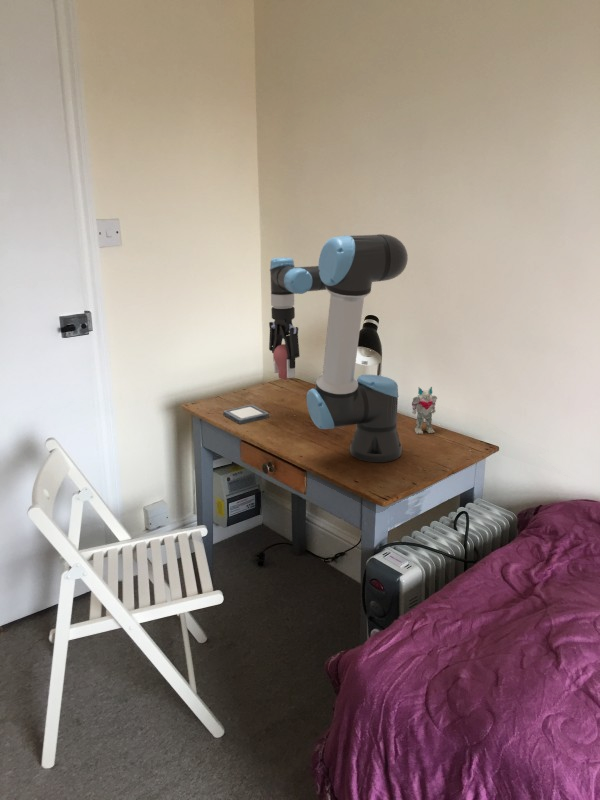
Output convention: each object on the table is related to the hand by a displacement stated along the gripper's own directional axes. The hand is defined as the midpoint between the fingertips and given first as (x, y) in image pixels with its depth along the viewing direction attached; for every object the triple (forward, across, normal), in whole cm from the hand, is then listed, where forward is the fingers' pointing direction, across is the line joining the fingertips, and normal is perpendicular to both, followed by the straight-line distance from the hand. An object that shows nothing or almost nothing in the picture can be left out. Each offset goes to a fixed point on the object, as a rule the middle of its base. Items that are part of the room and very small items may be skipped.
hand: (284, 374), depth 217 cm
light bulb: (+2, 0, 0) cm, 2 cm away
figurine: (+16, -36, -29) cm, 49 cm away
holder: (+15, +10, +10) cm, 21 cm away
